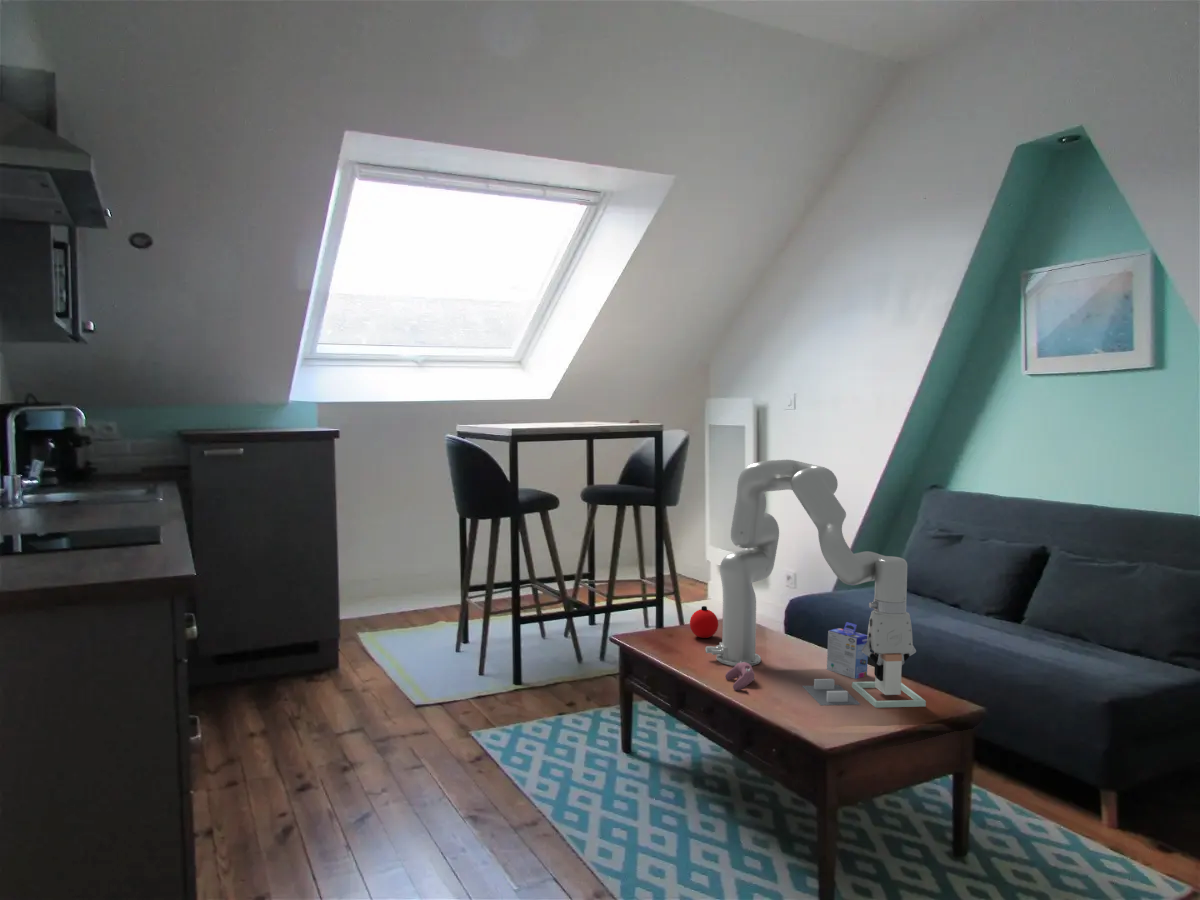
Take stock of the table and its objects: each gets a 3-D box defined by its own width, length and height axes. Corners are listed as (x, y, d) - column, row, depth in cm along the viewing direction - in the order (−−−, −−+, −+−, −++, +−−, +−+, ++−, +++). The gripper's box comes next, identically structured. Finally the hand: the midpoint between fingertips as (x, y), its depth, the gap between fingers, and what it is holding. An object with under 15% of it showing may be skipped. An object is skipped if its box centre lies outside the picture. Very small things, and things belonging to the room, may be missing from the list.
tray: (875, 712, 203) (875, 702, 203) (851, 691, 217) (852, 682, 217) (925, 711, 204) (925, 700, 204) (898, 690, 218) (899, 680, 218)
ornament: (724, 637, 266) (724, 606, 265) (705, 643, 260) (706, 611, 259) (702, 632, 273) (702, 601, 272) (683, 637, 266) (684, 606, 266)
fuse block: (820, 710, 204) (821, 695, 204) (801, 690, 218) (802, 676, 218) (860, 709, 205) (861, 694, 205) (839, 689, 219) (839, 675, 219)
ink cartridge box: (868, 679, 227) (870, 626, 226) (855, 683, 224) (857, 629, 223) (838, 670, 235) (840, 618, 234) (825, 673, 232) (827, 621, 231)
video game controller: (747, 697, 217) (760, 673, 217) (732, 689, 217) (744, 665, 217) (738, 684, 227) (749, 661, 227) (723, 677, 227) (735, 654, 226)
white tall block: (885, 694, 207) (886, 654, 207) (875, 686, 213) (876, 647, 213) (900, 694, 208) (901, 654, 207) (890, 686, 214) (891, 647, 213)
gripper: (863, 610, 205) (861, 684, 206) (929, 610, 206) (927, 683, 207) (851, 603, 212) (849, 675, 213) (915, 602, 214) (913, 673, 215)
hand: (888, 678), depth 210 cm, fingers closed on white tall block, 3 cm apart
